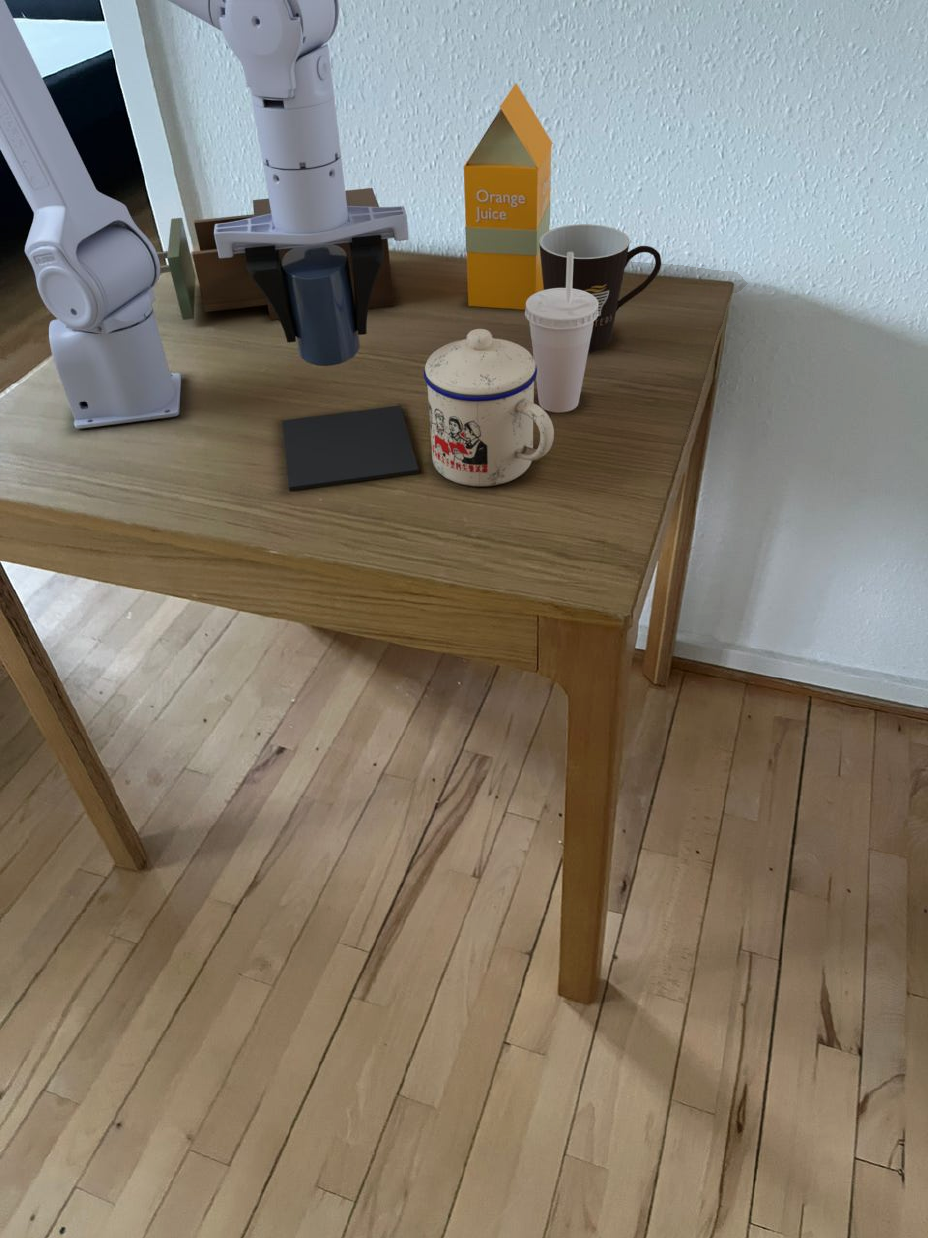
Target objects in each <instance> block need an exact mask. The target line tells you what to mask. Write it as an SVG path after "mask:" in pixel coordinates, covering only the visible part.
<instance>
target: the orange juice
mask: <svg viewBox="0 0 928 1238" xmlns="http://www.w3.org/2000/svg"><path fill="white" fill-rule="evenodd" d="M553 145H554V144H553V141H552V140H551V138H550V136H549V135H548V132H547V131H546V130H545V127H543V125H542V123H541V122H540V119H539V118H538V117H537V114H536V113H535V112H534V110H533V108H532V106H531V105H530V103H529V102H528V99H527V98H526V97H525V95H524V93H523V92H522V91H521V88H520V87H519V85H518V83H517V82H515V84H514V85H513V86H512V88H511V89H510V91H509V92H508V94H506V97H505V98H504V100H503V101H502V102H501V104H500V105H499V110H498V112H497V114H496V115H495V117H494V118H493V119H492V121H491V123H490V125H489V127H488V128H487V130H486V132H485V133H484V134H483V136H482V137H481V139H480V140H479V142H478V144H477V146H476V147H475V149H474V150H473V151H472V153H471V155H470V156H469V157H468V159H467V161H466V162H465V163H464V165H463V189H464V215H465V216H464V219H465V228H464V233H465V252H466V275H467V277H466V278H467V302H468V304H467V305H468V307H476V308H477V307H480V308H495V309H509V310H511V309H512V310H523V311H525V310H526V301H527V299H528V298H529V297H530V296H532V295H533V294H535V293H537V292H540V291H543V290H544V288H543V277H542V266H541V256H540V245H539V240H540V238H541V236H542V235H543V234H544V233H546V232H548V231H550V226H551V180H552V147H553Z"/></svg>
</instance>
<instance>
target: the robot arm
mask: <svg viewBox="0 0 928 1238" xmlns="http://www.w3.org/2000/svg"><path fill="white" fill-rule="evenodd" d="M167 1H168V2H170V3H172V4H173V5H175V6H176V7H178V8H180V9H182V10H184V11H186V12H188V13H189V14H191V15H192V16H194V17H196V18H198V19H200V20H201V21H203V22H205V23H207V24H208V25H210V26H212V27H213V28H215V29H217V30H219V31H221V33H222V34H223V35H222V36H223V37H224V40H225V41H226V44H227V45H228V47H229V48H230V50H231V51H232V53H233V54H234V55H235V57H236V58H237V59H238V61H239V62H240V64H241V66H242V69H243V72H244V73H243V74H244V78H245V83H246V84H245V85H246V87H247V88H249V89H250V90H249V91H250V96H251V101H252V107H253V114H254V120H255V125H256V131H257V136H258V142H259V149H260V154H261V160H262V167H263V172H264V178H265V184H266V190H267V196H268V198H269V202H270V208H271V213H270V214H266V215H262V216H257V217H253V218H248V219H244V220H239V221H234V222H228V223H220V224H215V228H214V236H215V241H216V245H217V250H218V255H219V258H230V257H233V256H234V254H236V253H245V254H246V260H247V269H248V271H249V273H250V275H251V277H252V278H253V280H254V281H255V282H256V283H257V284H258V286H259V287H260V288H261V290H262V291H263V293H264V294H265V296H266V297H267V299H268V300H269V302H270V303H271V305H272V307H273V309H274V311H275V312H276V314H277V316H278V318H279V319H278V320H279V323H280V325H281V327H282V330H283V332H284V336H285V338H286V343H297V342H296V336H295V331H294V325H293V321H292V317H291V312H290V307H289V302H288V297H287V292H286V287H285V283H284V278H283V273H282V268H281V254H280V249H287V248H297V247H307V246H318V245H328V244H338V243H348V242H349V249H350V257H351V265H352V273H353V281H354V303H355V312H356V322H357V330H358V335H359V336H363V335H367V334H368V333H367V325H368V324H367V323H368V315H369V314H368V313H369V309H368V307H369V302H370V297H371V293H372V290H373V286H374V283H375V280H376V277H377V275H378V272H379V270H380V268H381V265H382V261H383V257H384V252H383V247H382V239H393V240H394V241H396V242H401V241H409V239H410V237H409V226H408V225H409V223H408V214H407V211H406V207H405V206H404V205H400V206H399V205H398V206H379V207H362V206H347V201H346V193H345V191H346V186H345V177H344V169H343V159H342V151H341V141H340V136H339V135H340V131H339V125H338V124H339V123H338V115H337V109H336V108H337V107H336V100H335V91H334V90H335V89H334V82H333V75H332V74H333V73H332V67H331V59H330V58H331V56H330V49H329V45H328V44H327V43H328V42H329V41H330V40H331V39H332V37H333V35H334V34H335V32H336V30H337V26H338V23H339V17H340V3H339V0H167ZM70 134H71V133H69V130H68V128H67V126H66V124H65V122H64V120H63V118H62V115H61V114H60V112H59V109H58V108H57V105H56V104H55V102H54V99H53V98H52V95H51V93H50V91H49V89H48V88H47V85H46V83H45V80H44V79H43V76H42V75H41V73H40V71H39V68H38V66H37V65H36V63H35V60H34V58H33V57H32V54H31V51H30V50H29V48H28V46H27V44H26V42H25V39H24V38H23V36H22V33H21V32H20V29H19V27H18V25H17V23H16V21H15V19H14V17H13V15H12V13H11V11H10V8H9V7H8V5H7V2H6V0H0V151H1V153H2V155H3V158H4V159H5V161H6V163H7V165H8V167H9V169H10V170H11V172H12V174H13V176H14V178H15V180H16V182H17V185H18V186H19V187H20V189H21V191H22V193H23V195H24V197H25V200H26V201H27V203H28V204H29V206H30V208H31V210H32V212H33V219H32V223H31V226H30V229H29V232H28V236H27V239H26V242H25V245H24V253H25V255H26V257H27V259H28V261H29V262H30V265H31V267H32V270H33V272H34V275H35V281H36V287H37V290H38V294H39V296H40V298H41V300H42V302H43V304H44V305H45V307H46V308H47V309H48V311H49V312H50V313H51V314H52V315H53V316H54V318H56V319H52V320H51V321H50V322H49V325H48V326H49V327H48V338H49V339H48V340H49V344H50V345H49V346H50V351H51V355H52V360H53V363H54V366H55V370H56V372H57V374H58V377H59V380H60V383H61V386H62V388H63V391H64V394H65V397H66V401H67V402H68V406H69V408H70V411H71V414H72V417H73V419H74V421H73V424H74V427H75V429H87V428H94V427H95V428H96V427H103V426H104V427H105V426H111V425H120V424H127V423H136V422H142V421H150V420H151V421H152V420H159V419H166V418H174V417H177V416H178V415H180V405H181V404H180V403H181V390H182V388H181V387H182V374H181V373H179V372H172V373H171V370H170V366H169V362H168V358H167V356H166V352H165V348H164V343H163V341H162V337H161V333H160V329H159V326H158V321H157V319H156V314H155V311H154V307H153V303H154V302H155V301H156V297H155V292H154V289H153V288H154V287H155V286H156V284H157V283H158V281H159V279H160V276H161V273H160V266H161V263H160V259H159V258H158V255H157V253H156V252H157V251H156V248H155V246H154V245H153V243H152V242H151V240H150V239H149V237H147V236H146V235H145V234H144V232H143V231H142V230H141V229H140V228H139V227H138V226H137V223H136V222H135V221H134V220H133V218H132V216H131V214H130V212H129V210H128V207H127V206H126V205H125V204H124V203H123V202H121V201H118V200H117V199H114V198H113V197H110V196H108V195H106V194H104V193H102V192H100V191H98V189H97V188H96V186H95V184H94V182H93V180H92V177H91V175H90V174H89V172H88V170H87V168H86V165H85V164H84V161H83V159H82V157H81V155H80V153H79V151H78V149H77V147H76V145H75V142H74V141H73V138H72V137H71V135H70Z"/></svg>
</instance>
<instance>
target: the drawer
mask: <svg viewBox="0 0 928 1238" xmlns="http://www.w3.org/2000/svg"><path fill="white" fill-rule="evenodd" d="M253 217H254V213H252V214H242V215H233V216H223V217H213V218H205V219H203V218H202V219H194V220H193V225H194V229H195V233H196V239H197V242H198V247H199V250H195V251H192V254H191V251H190V246H189V242H188V238H187V232H186V230H185V229H186V228H185V225H184V220H183V217H176V218H171V219H170V227H169V238H168V245H167V246H168V248H167V250H165V251H164V250H163V251H156V253H157V255H158V258H159V260H162V259H167V263H168V264H164V265H160V274H165V273H170V275H171V280H172V284H173V287H174V292H175V295H176V299H177V303H178V307H179V311H180V315H181V319H182V321H185V320H193V319H194V318H195V299H196V297H195V296H196V277H197V281H198V285H199V290H200V294H201V299H202V302H203V307H204V311H205V312H206V313H208V312H209V313H210V312H217V311H225V310H234V309H242V308H251V307H260V306H268V305H267V299H266V296H265V294H264V293H263V291H262V290H261V288H260V287H259V286H258V284H257V283H256V282H255V281H254V280H253V278H252V277H251V275H250V273H249V271H248V269H247V260H246V254H245V253H236V254H234V256H233V257H230V258H219V255H218V250H217V245H216V241H215V236H214V228H215V224H220V223H228V222H234V221H239V220H244V219H248V218H253ZM193 263H194V264H193Z"/></svg>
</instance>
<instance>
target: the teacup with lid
mask: <svg viewBox="0 0 928 1238" xmlns="http://www.w3.org/2000/svg"><path fill="white" fill-rule="evenodd" d="M536 375H537V366H536V364H535V361H534V357H533V354H531V353H530V351H528V349H526V348H525V347H524V346H522V345H520V344H518V343H515V342H513V341H510V340H507V339H502V338H496V337H495V338H494V337H493V334H492V333H491V332H490V330H488V329H485V328H476V329H472V330H470V331H469V332H468V333H467V335H466V338H463V339H458V340H456V341H452V342H449V343H447V344H445V345H443V346H441V347H439V348H438V349H436V350H435V351H433V353H432V354H431V355H430V356H429V357H428V359H427V361H426V362H425V365H424V369H423V379H424V382H425V383H426V385H427V398H428V412H429V413H428V414H429V415H428V416H429V428H430V429H429V430H430V441H431V457H432V464H433V466H434V468H435V469H436V471H437V472H438V473H439V475H441V476H442V477H444V478H445V479H447V480H449V481H451V482H454V483H456V484H459V485H464V486H469V487H493V486H498V485H502V484H506V483H509V482H511V481H513V480H516V479H517V478H519V477H520V476H522V475H523V474H524V473H525V472H526V471H527V470H528V469H529V467H530V466H531V464H532V463H533V461H537V460H540V459H541V458H544V456H545V455H547V454H548V452H549V451H550V450H551V448H552V445H553V443H554V438H555V431H554V430H555V429H554V424H553V421H552V420H551V418H550V416H549V414H548V413H547V411H546V410H545V409H543V408H542V407H541V406H540V405H539V404H536V403H534V400H535V398H534V397H535V381H536ZM534 423H535V425H536V427H537V428H538V430H539V444H538V446H537V448H534Z"/></svg>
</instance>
